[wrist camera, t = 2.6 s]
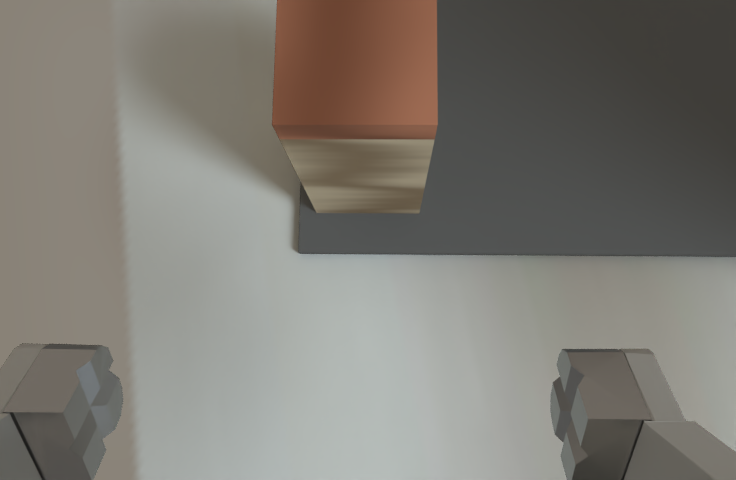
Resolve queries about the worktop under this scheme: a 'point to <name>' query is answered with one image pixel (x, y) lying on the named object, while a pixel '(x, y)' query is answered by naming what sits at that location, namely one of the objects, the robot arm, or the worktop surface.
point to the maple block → (357, 100)
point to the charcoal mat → (569, 135)
